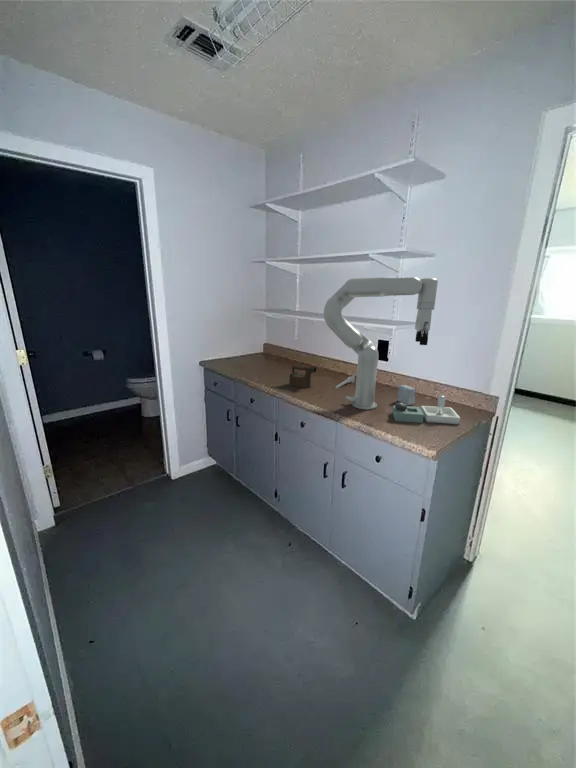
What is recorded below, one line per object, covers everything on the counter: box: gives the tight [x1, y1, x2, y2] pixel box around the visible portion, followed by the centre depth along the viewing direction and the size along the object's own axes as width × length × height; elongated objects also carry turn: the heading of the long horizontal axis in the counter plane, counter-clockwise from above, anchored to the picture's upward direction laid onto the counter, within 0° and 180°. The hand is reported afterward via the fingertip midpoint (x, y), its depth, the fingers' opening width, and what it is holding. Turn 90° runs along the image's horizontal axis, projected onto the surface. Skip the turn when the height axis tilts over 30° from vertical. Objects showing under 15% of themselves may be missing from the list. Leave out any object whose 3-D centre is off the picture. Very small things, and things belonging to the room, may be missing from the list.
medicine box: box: [397, 384, 417, 406], centre depth 174 cm, size 8×4×9 cm, turn 26°
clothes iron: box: [289, 364, 317, 389], centre depth 200 cm, size 8×16×13 cm, turn 56°
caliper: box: [333, 372, 356, 390], centre depth 204 cm, size 20×1×6 cm, turn 137°
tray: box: [420, 405, 461, 425], centre depth 155 cm, size 14×13×3 cm
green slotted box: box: [391, 402, 424, 424], centre depth 154 cm, size 12×10×7 cm
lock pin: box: [436, 394, 447, 416], centre depth 154 cm, size 3×3×10 cm
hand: (421, 343), depth 157 cm, fingers open, 9 cm apart
